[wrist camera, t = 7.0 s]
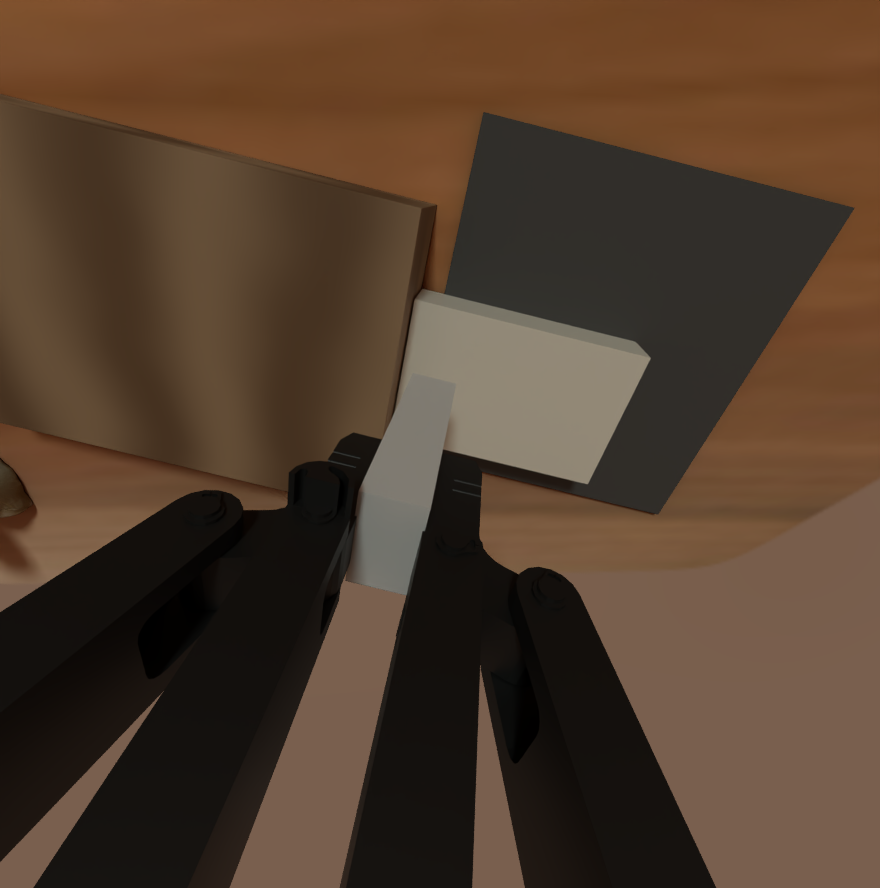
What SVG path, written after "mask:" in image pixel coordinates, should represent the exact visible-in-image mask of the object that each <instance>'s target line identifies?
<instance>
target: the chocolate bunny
mask: <svg viewBox="0 0 880 888" xmlns="http://www.w3.org/2000/svg"><path fill="white" fill-rule="evenodd" d="M31 505H32V502H31V499H30V498H29V497H28V496H27V494H26V493H25V492H24V491H23V486H22V484H21V482H20V481H19V479H18V477H17V475H16V474H15V473H14V471H13V469H12V468H10V467H9V466H8V465H5V463H4V462H3V461H2V460H1V459H0V518H2V517H9V516H14V515H17V514H19V513H22V512H23V511H25V510H26V509H27V508H28V507H30V506H31Z"/></svg>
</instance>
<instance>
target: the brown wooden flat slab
mask: <svg viewBox="0 0 880 888" xmlns="http://www.w3.org/2000/svg"><path fill="white" fill-rule="evenodd" d="M436 207H437V205H435V204H431V203H427V202H423V201H419V200H415V199H411V198H407V197H403V196H399V195H396V194H392V193H388V192H384V191H380V190H376V189H372V188H368V187H364V186H360V185H356V184H352V183H348V182H344V181H340V180H336V179H333V178H329V177H325V176H321V175H317V174H313V173H309V172H305V171H301V170H297V169H293V168H289V167H285V166H281V165H277V164H273V163H270V162H266V161H262V160H258V159H254V158H250V157H246V156H242V155H238V154H234V153H230V152H226V151H222V150H218V149H214V148H211V147H207V146H203V145H199V144H195V143H191V142H187V141H183V140H179V139H175V138H171V137H167V136H163V135H159V134H155V133H151V132H148V131H144V130H140V129H136V128H132V127H128V126H124V125H120V124H116V123H112V122H108V121H104V120H100V119H96V118H92V117H88V116H85V115H81V114H77V113H73V112H69V111H65V110H61V109H57V108H53V107H49V106H45V105H41V104H37V103H33V102H29V101H25V100H22V99H18V98H14V97H10V96H6V95H2V94H0V423H4V424H8V425H12V426H16V427H20V428H25V429H29V430H33V431H37V432H41V433H45V434H50V435H54V436H58V437H62V438H66V439H70V440H75V441H79V442H83V443H87V444H91V445H95V446H100V447H104V448H108V449H112V450H116V451H120V452H125V453H129V454H133V455H137V456H141V457H145V458H150V459H154V460H158V461H162V462H166V463H170V464H175V465H179V466H183V467H187V468H191V469H195V470H199V471H204V472H208V473H212V474H216V475H220V476H224V477H229V478H233V479H237V480H241V481H245V482H249V483H254V484H258V485H262V486H266V487H270V488H274V489H279V490H283V491H287V492H288V479H289V472H290V471H291V470H292V469H293V468H295V467H296V466H298V465H300V464H303V463H306V462H312V461H328V458H329V457H330V455H331V454H332V453H333V450H334V449H335V447H336V446H337V444H338V442H339V441H340V440H341V439H342V438H344V437H346V436H348V435H349V434H351V433H353V432H354V433H358V434H362V435H366V436H370V437H374V438H378V439H383V437H384V435H385V432H386V430H387V428H388V426H389V424H390V422H391V419H392V417H393V415H394V412H395V406H396V401H397V395H398V390H399V384H400V378H401V373H402V367H403V362H404V356H405V350H406V345H407V339H408V334H409V328H410V322H411V317H412V311H413V306H414V300H415V298H416V297H417V295H418V294H419V293H420V291H421V288H422V283H423V277H424V272H425V266H426V261H427V256H428V250H429V245H430V240H431V234H432V229H433V223H434V218H435V213H436Z"/></svg>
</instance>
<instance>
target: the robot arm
mask: <svg viewBox="0 0 880 888" xmlns="http://www.w3.org/2000/svg"><path fill="white" fill-rule="evenodd" d="M455 388H456V384H455V383H451V382H447V381H443V380H439V379H435V378H431V377H427V376H423V375H419V374H415V373H413V374H412V376H411V378H410V380H409V382H408V385H407V387H406V389H405V391H404V393H403V395H402V398H401V400H400V402H399V404H398V406H397V408H396V411H395V413H394V415H393V417H392V419H391V422H390V424H389V426H388V428H387V430H386V432H385V435H384V437H383V439H378V438H374V437H370V436H366V435H362V434H358V433H354V432H353V433H351V434H349V435H348V436H346V437H344V438H342V439H341V440H340V441H339V442H338V444H337V446H336V447H335V449H334V450H333V453H332V454H331V455H330V457H329V458H328V461H312V462H306V463H303V464H300V465H298V466H296V467H295V468H293V469H292V470H291V471H290V472H289V479H288V504H287V506H286V507H285V508H281V509H277V510H243V506H242V504H241V502H240V500H239V499H238V498H236V497H235V496H233V495H232V494H230V493H226V492H223V491H219V490H204V491H199V492H194V493H190V494H188V495H186V496H183V497H181V498H179V499H177V500H176V501H174V502H172V503H171V504H169V505H168V506H166V507H165V508H163V509H161V510H160V511H158V512H157V513H155V514H154V515H152V516H150V517H149V518H147V519H146V520H144V521H143V522H141V523H139V524H138V525H136V526H135V527H133V528H132V529H130V530H128V531H127V532H125V533H124V534H122V535H121V536H119V537H118V538H116V539H114V540H113V541H111V542H110V543H108V544H107V545H105V546H103V547H102V548H100V549H99V550H97V551H96V552H94V553H92V554H91V555H89V556H88V557H86V558H85V559H83V560H81V561H80V562H78V563H77V564H75V565H74V566H72V567H70V568H69V569H67V570H66V571H64V572H63V573H61V574H59V575H58V576H56V577H55V578H53V579H52V580H50V581H48V582H47V583H45V584H44V585H42V586H41V587H39V588H38V589H36V590H34V591H33V592H32V593H30V594H28V595H27V596H25V597H23V598H22V599H20V600H19V601H17V602H16V603H14V604H12V605H11V606H9V607H8V608H6V609H5V610H3V611H2V612H0V861H2V859H3V858H4V857H5V856H6V855H7V854H8V853H9V852H10V851H11V850H12V849H13V848H14V847H15V846H16V844H18V843H19V842H20V841H21V840H22V839H23V838H24V836H25V835H26V834H27V833H28V832H29V831H30V830H31V829H32V828H33V827H34V826H35V825H36V824H37V823H38V822H39V821H40V820H41V819H42V818H43V816H45V814H46V813H47V812H48V811H49V810H50V809H51V808H52V807H53V806H54V805H55V804H56V803H57V802H58V801H59V800H60V799H61V798H62V797H63V796H64V795H65V794H66V792H68V790H69V789H70V788H71V787H72V786H73V785H74V784H75V783H76V782H77V781H78V780H79V779H80V778H81V777H82V776H83V775H84V774H85V773H86V772H87V771H88V769H89V768H90V767H91V766H92V765H93V764H94V763H95V762H96V761H97V760H98V759H99V758H100V757H101V756H102V755H103V754H104V753H105V752H106V751H107V750H108V749H109V748H110V747H111V745H112V744H113V743H114V742H115V741H116V740H117V739H118V738H119V737H120V736H121V735H122V734H123V733H124V732H125V731H126V730H127V729H128V728H129V727H130V725H132V724H133V722H134V721H135V720H136V719H137V718H138V717H139V716H140V715H141V714H142V713H143V712H144V711H145V710H146V709H147V708H148V707H149V706H150V705H151V704H152V702H154V701H155V699H156V698H157V697H158V696H159V695H160V694H161V693H162V692H163V691H164V692H163V693H162V695H161V696H160V698H159V699H158V701H157V702H156V704H155V705H154V707H153V708H152V710H151V711H150V713H149V714H148V716H147V718H146V719H145V720H144V722H143V723H142V725H141V726H140V728H139V729H138V731H137V733H136V734H135V735H134V737H133V738H132V740H131V741H130V743H129V744H128V746H127V747H126V749H125V750H124V752H123V753H122V755H121V756H120V758H119V759H118V761H117V763H116V764H115V765H114V767H113V769H112V770H111V771H110V773H109V774H108V776H107V778H106V779H105V781H104V782H103V784H102V785H101V787H100V788H99V790H98V791H97V793H96V794H95V796H94V797H93V799H92V800H91V802H90V803H89V805H88V806H87V808H86V809H85V811H84V812H83V814H82V815H81V817H80V818H79V820H78V821H77V823H76V824H75V826H74V827H73V829H72V830H71V832H70V833H69V835H68V836H67V838H66V839H65V841H64V842H63V844H62V845H61V847H60V848H59V850H58V852H57V853H56V854H55V856H54V857H53V859H52V860H51V862H50V863H49V865H48V867H47V868H46V870H45V871H44V873H43V874H42V876H41V877H40V879H39V880H38V882H37V883H36V885H35V886H34V888H229V887H230V885H231V882H232V880H233V877H234V874H235V871H236V869H237V866H238V864H239V861H240V859H241V856H242V853H243V851H244V848H245V845H246V843H247V840H248V838H249V835H250V832H251V830H252V827H253V824H254V822H255V819H256V817H257V814H258V811H259V809H260V805H261V803H262V801H263V798H264V795H265V793H266V790H267V787H268V785H269V782H270V780H271V777H272V775H273V772H274V769H275V767H276V764H277V761H278V759H279V756H280V753H281V751H282V748H283V746H284V743H285V740H286V738H287V735H288V732H289V730H290V727H291V724H292V722H293V719H294V717H295V714H296V711H297V709H298V706H299V704H300V701H301V698H302V696H303V693H304V691H305V688H306V685H307V683H308V680H309V677H310V675H311V672H312V669H313V667H314V664H315V662H316V659H317V656H318V654H319V651H320V649H321V646H322V643H323V641H324V638H325V635H326V633H327V630H328V627H329V625H330V622H331V620H332V617H333V614H334V612H335V609H336V607H337V604H338V601H339V595H340V587H341V584H342V582H343V579H344V577H345V574H346V572H347V574H346V581H349V582H353V583H357V584H361V585H365V586H370V587H374V588H378V589H382V590H386V591H390V592H394V593H399V594H403V595H406V600H405V604H404V608H403V611H402V615H401V619H400V622H399V626H398V630H397V634H396V636H397V637H396V641H395V646H394V650H393V655H392V659H391V663H390V668H389V673H388V677H387V681H386V685H385V690H384V694H383V699H382V703H381V708H380V712H379V716H378V721H377V725H376V730H375V734H374V739H373V743H372V747H371V752H370V756H369V761H368V765H367V769H366V774H365V778H364V783H363V787H362V791H361V796H360V800H359V805H358V809H357V813H356V818H355V822H354V827H353V831H352V836H351V840H350V845H349V849H348V853H347V858H346V862H345V867H344V871H343V875H342V880H341V884H340V888H472V875H473V846H474V819H475V792H476V763H477V736H478V735H477V734H478V707H479V706H478V705H479V680H480V665H481V672H482V677H483V682H484V687H485V692H486V697H487V702H488V707H489V712H490V717H491V722H492V727H493V731H494V737H495V742H496V746H497V751H498V756H499V761H500V766H501V771H502V776H503V781H504V786H505V791H506V796H507V801H508V805H509V811H510V816H511V820H512V825H513V831H514V836H515V840H516V845H517V851H518V855H519V860H520V865H521V870H522V875H523V880H524V885H525V888H716V886H715V884H714V882H713V880H712V878H711V876H710V874H709V871H708V869H707V867H706V865H705V863H704V861H703V858H702V856H701V854H700V852H699V850H698V848H697V846H696V843H695V841H694V839H693V837H692V835H691V833H690V831H689V828H688V826H687V824H686V822H685V820H684V818H683V816H682V813H681V811H680V809H679V807H678V805H677V803H676V801H675V798H674V796H673V794H672V792H671V790H670V788H669V786H668V783H667V781H666V779H665V777H664V775H663V773H662V770H661V768H660V766H659V764H658V762H657V760H656V758H655V756H654V753H653V751H652V749H651V747H650V745H649V743H648V740H647V738H646V736H645V734H644V732H643V730H642V727H641V725H640V723H639V721H638V719H637V717H636V715H635V713H634V710H633V708H632V706H631V704H630V702H629V700H628V697H627V695H626V693H625V691H624V689H623V687H622V684H621V683H620V680H619V678H618V676H617V674H616V672H615V669H614V667H613V665H612V663H611V661H610V659H609V657H608V654H607V652H606V650H605V648H604V646H603V644H602V642H601V639H600V637H599V635H598V633H597V631H596V629H595V627H594V625H593V622H592V620H591V618H590V616H589V614H588V612H587V609H586V607H585V605H584V603H583V601H582V599H581V596H580V595H579V593H578V592H577V590H576V589H575V587H574V586H573V584H572V583H570V582H569V581H568V580H567V579H566V578H565V577H564V576H562V575H561V574H559V573H557V572H555V571H553V570H551V569H546V568H541V567H533V568H527V569H526V570H524V571H523V572H521V573H520V574H517V573H515V572H513V571H511V570H509V569H507V568H505V567H503V566H502V565H500V564H499V563H497V562H496V561H494V560H493V559H492V558H491V557H490V556H489V555H488V554H487V553H486V551H485V550H484V549H483V544H482V542H481V540H480V537H479V527H480V507H481V485H482V472H481V470H480V469H479V467H478V465H477V463H476V461H473V460H469V459H465V458H461V457H457V456H453V455H449V454H444V453H442V451H443V447H444V442H445V437H446V432H447V427H448V422H449V417H450V412H451V408H452V403H453V398H454V393H455Z"/></svg>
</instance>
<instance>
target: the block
mask: <svg viewBox="0 0 880 888" xmlns="http://www.w3.org/2000/svg"><path fill="white" fill-rule="evenodd" d="M650 359H651V358H650V357H649V355H648V354H647V353H646V352H645V351H644V350H643V349H642V348H641V347H640V346H639V345H638V344H637V343H636V342H634V341H630V340H626V339H622V338H618V337H614V336H610V335H606V334H602V333H598V332H594V331H590V330H586V329H582V328H578V327H574V326H570V325H566V324H562V323H558V322H554V321H550V320H546V319H542V318H538V317H534V316H530V315H526V314H522V313H518V312H514V311H510V310H506V309H502V308H498V307H494V306H490V305H486V304H482V303H478V302H474V301H470V300H466V299H462V298H458V297H454V296H450V295H446V294H442V293H438V292H434V291H430V290H426V289H422V290H421V291H420V293H419V294H418V295H417V297H416V298H415V300H414V306H413V311H412V317H411V322H410V328H409V334H408V339H407V345H406V350H405V356H404V362H403V367H402V373H401V378H400V384H399V390H398V395H397V401H396V406H395V411H396V408H397V406H398V404H399V402H400V400H401V398H402V395H403V393H404V391H405V389H406V387H407V385H408V382H409V380H410V378H411V376H412V374H413V373H415V374H419V375H423V376H427V377H431V378H435V379H439V380H443V381H447V382H451V383H455V384H456V388H455V393H454V398H453V403H452V408H451V412H450V417H449V422H448V427H447V432H446V437H445V442H444V447H443V449H444V450H448V451H452V452H456V453H460V454H465V455H469V456H473V457H477V458H481V459H485V460H489V461H493V462H498V463H502V464H506V465H510V466H514V467H518V468H522V469H526V470H531V471H535V472H539V473H543V474H547V475H551V476H555V477H559V478H564V479H568V480H572V481H576V482H580V483H584V484H588V483H589V481H590V479H591V477H592V475H593V473H594V471H595V469H596V467H597V465H598V463H599V461H600V459H601V457H602V455H603V453H604V451H605V449H606V447H607V445H608V443H609V441H610V439H611V437H612V435H613V433H614V431H615V429H616V427H617V425H618V423H619V421H620V419H621V417H622V415H623V413H624V411H625V409H626V407H627V405H628V403H629V401H630V399H631V397H632V395H633V393H634V391H635V389H636V387H637V385H638V383H639V381H640V379H641V377H642V375H643V373H644V371H645V369H646V367H647V365H648V363H649V361H650ZM394 413H395V412H394Z"/></svg>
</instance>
